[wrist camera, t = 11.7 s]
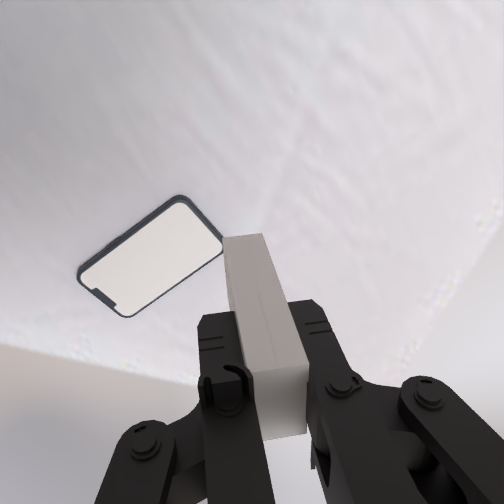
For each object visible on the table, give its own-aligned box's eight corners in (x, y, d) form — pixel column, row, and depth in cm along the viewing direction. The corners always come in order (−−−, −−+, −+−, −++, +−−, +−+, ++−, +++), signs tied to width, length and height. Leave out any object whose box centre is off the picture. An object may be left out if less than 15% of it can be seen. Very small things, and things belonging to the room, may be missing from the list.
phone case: (181, 187, 45) (72, 269, 48) (181, 193, 44) (70, 277, 47) (230, 242, 50) (128, 314, 53) (231, 249, 48) (126, 323, 51)
